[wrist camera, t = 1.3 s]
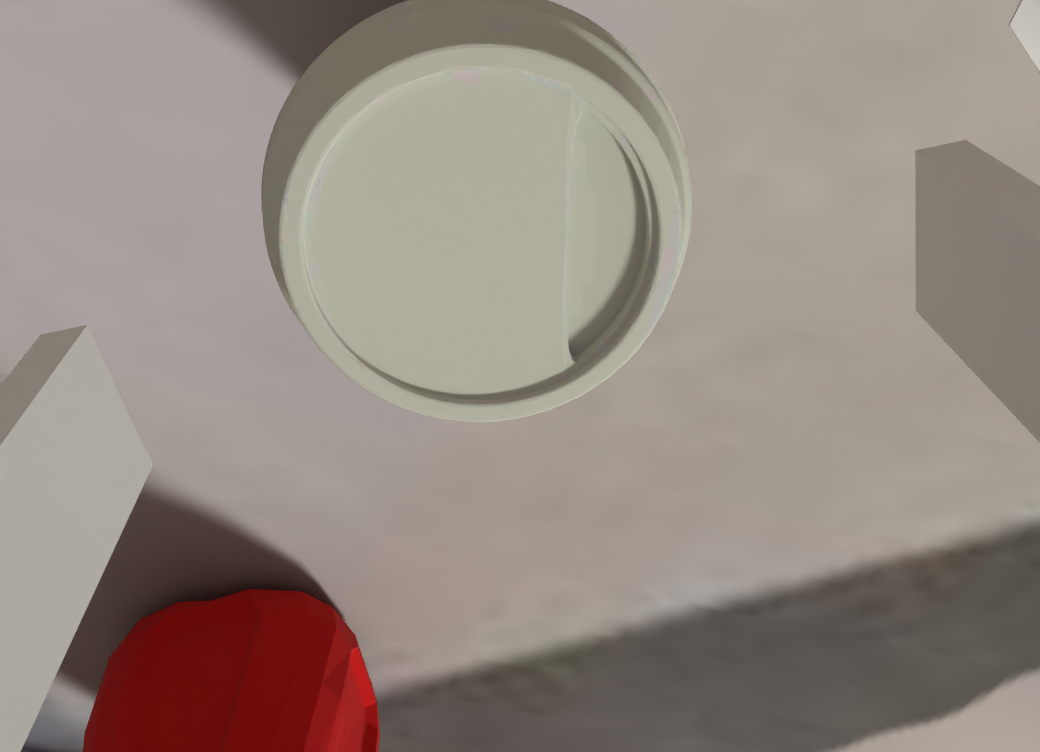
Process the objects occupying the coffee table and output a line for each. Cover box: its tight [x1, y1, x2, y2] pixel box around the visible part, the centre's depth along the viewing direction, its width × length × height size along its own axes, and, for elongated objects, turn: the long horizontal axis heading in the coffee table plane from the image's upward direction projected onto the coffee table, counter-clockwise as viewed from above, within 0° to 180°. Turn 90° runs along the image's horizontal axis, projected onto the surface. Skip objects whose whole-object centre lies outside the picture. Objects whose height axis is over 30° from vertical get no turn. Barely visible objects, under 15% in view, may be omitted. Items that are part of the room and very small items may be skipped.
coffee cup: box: [262, 0, 692, 422], centre depth 24 cm, size 8×9×12 cm
